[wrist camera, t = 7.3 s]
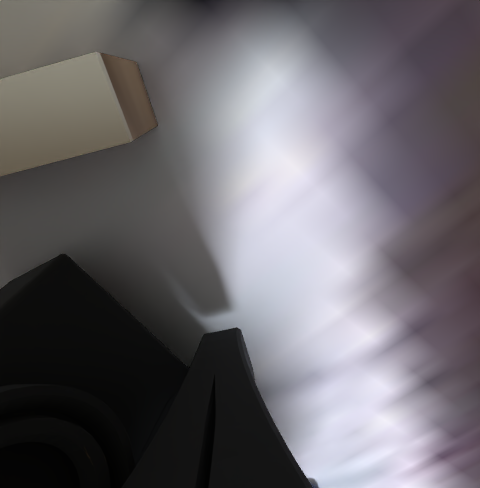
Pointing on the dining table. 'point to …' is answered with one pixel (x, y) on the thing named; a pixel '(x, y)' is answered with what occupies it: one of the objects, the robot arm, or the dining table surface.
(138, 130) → the frame
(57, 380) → the digital camera
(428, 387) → the dining table surface
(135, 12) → the dining table surface
